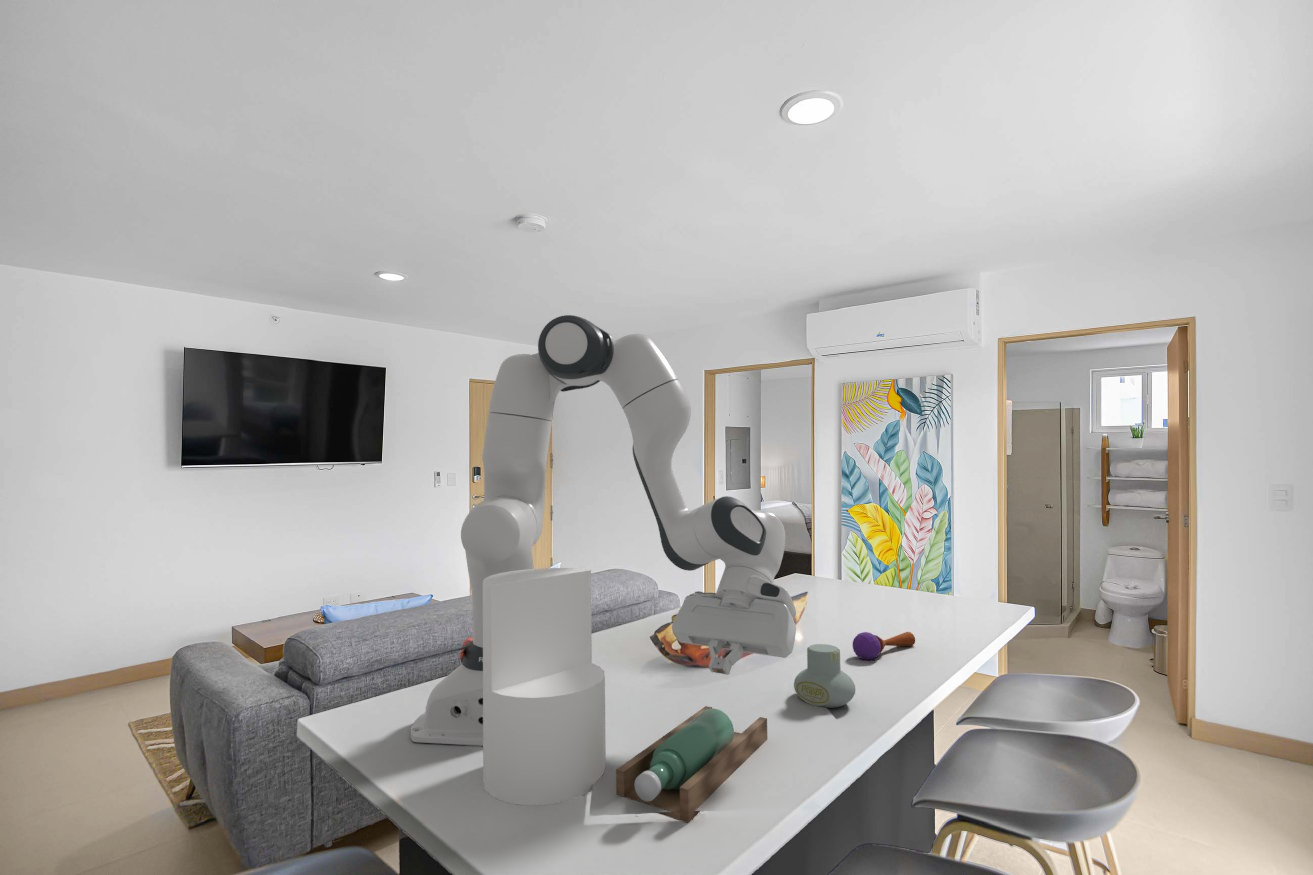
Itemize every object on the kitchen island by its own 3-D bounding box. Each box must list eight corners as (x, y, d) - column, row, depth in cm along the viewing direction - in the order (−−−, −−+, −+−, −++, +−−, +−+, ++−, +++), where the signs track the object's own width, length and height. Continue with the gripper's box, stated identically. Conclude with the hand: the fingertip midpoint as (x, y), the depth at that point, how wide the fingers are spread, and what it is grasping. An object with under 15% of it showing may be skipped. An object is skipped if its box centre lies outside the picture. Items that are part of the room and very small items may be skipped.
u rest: (706, 730, 109) (705, 706, 109) (767, 744, 103) (767, 718, 103) (616, 800, 86) (616, 769, 87) (688, 822, 81) (688, 789, 81)
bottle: (711, 755, 100) (640, 820, 82) (691, 718, 102) (617, 774, 84) (741, 739, 98) (674, 802, 80) (720, 701, 100) (650, 755, 82)
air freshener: (786, 701, 121) (785, 647, 122) (810, 690, 127) (809, 638, 128) (840, 717, 114) (838, 658, 114) (863, 704, 120) (861, 648, 120)
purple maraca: (922, 631, 155) (872, 639, 143) (917, 655, 156) (867, 665, 144) (900, 622, 160) (849, 629, 148) (895, 645, 160) (845, 654, 148)
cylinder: (460, 774, 94) (460, 578, 95) (559, 738, 106) (557, 564, 108) (528, 820, 82) (526, 594, 83) (630, 773, 94) (628, 576, 95)
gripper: (682, 580, 114) (653, 651, 105) (796, 590, 103) (774, 670, 94) (694, 601, 117) (667, 671, 109) (806, 613, 107) (786, 692, 98)
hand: (718, 671), depth 101 cm, fingers closed
